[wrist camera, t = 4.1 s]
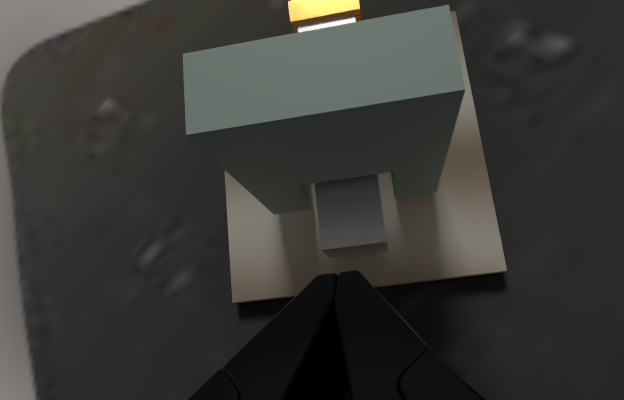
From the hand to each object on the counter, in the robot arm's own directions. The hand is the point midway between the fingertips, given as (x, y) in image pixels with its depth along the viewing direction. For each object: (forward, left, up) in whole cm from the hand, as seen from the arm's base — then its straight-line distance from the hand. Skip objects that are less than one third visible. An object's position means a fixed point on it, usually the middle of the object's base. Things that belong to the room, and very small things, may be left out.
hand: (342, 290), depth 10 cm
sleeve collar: (+4, +3, -8) cm, 10 cm away
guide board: (+4, +3, -9) cm, 11 cm away
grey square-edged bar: (+6, +3, -9) cm, 11 cm away
